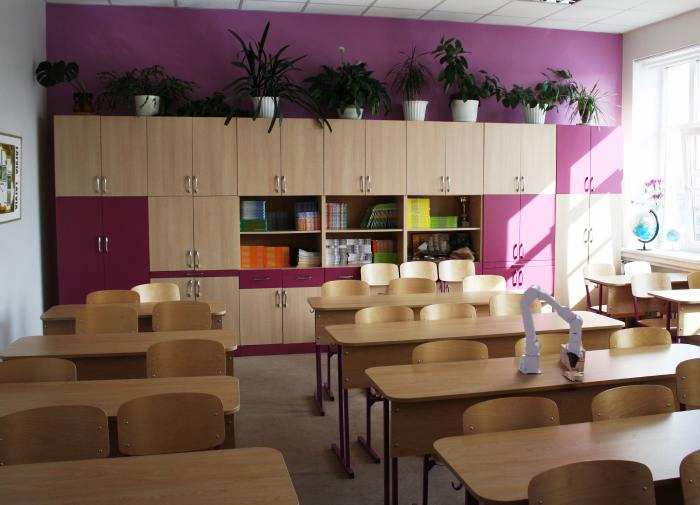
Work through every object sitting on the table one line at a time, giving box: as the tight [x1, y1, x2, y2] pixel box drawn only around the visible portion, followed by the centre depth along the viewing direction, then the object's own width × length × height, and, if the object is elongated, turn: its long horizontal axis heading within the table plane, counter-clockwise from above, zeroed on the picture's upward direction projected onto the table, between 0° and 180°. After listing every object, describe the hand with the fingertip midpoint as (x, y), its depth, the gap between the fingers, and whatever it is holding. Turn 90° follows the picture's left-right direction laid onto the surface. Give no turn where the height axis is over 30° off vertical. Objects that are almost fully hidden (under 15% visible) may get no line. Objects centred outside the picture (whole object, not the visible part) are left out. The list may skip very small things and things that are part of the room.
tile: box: [564, 370, 584, 382], centre depth 347 cm, size 6×2×7 cm
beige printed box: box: [559, 343, 587, 372], centre depth 367 cm, size 21×6×12 cm, turn 0°
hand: (572, 367), depth 349 cm, fingers closed
